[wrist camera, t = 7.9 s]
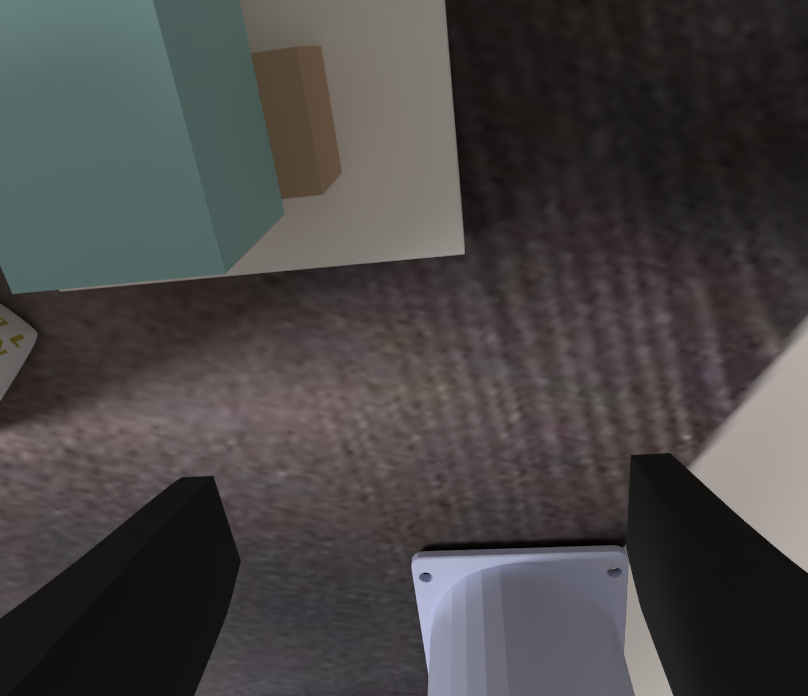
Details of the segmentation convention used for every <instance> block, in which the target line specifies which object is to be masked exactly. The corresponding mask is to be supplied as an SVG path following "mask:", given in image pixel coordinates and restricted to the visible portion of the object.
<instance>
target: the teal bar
mask: <svg viewBox="0 0 808 696" xmlns="http://www.w3.org/2000/svg"><path fill="white" fill-rule="evenodd" d="M284 215H285V212H284V208H283V203H282V198H281V193H280V189H279V184H278V179H277V175H276V170H275V165H274V160H273V156H272V151H271V146H270V142H269V137H268V132H267V127H266V123H265V118H264V113H263V108H262V104H261V99H260V94H259V90H258V85H257V80H256V75H255V71H254V66H253V61H252V57H251V52H250V47H249V42H248V38H247V33H246V28H245V23H244V19H243V14H242V9H241V5H240V0H0V266H1V269H2V271H3V273H4V276H5V278H6V280H7V283H8V285H9V287H10V289H11V292H12V294H18V293H29V292H39V291H50V290H61V289H71V288H82V287H92V286H103V285H113V284H124V283H134V282H145V281H155V280H166V279H176V278H187V277H197V276H208V275H218V274H226V273H227V272H228V271H229V270H230V269H231V268H232V267H233V266H234V265H235V264H236V263H237V262H238V261H239V260H240V259H241V258H242V257H243V256H244V255H245V254H246V253H247V252H248V251H249V250H250V249H251V248H252V247H253V246H254V245H255V244H256V243H257V242H258V241H259V240H260V239H261V238H262V237H263V236H264V235H265V234H266V233H267V232H268V231H269V230H270V229H271V228H272V227H273V226H274V225H275V224H276V223H277V222H278V221H279V220H280V219H281V218H282V217H283V216H284Z"/></svg>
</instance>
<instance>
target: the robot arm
mask: <svg viewBox="0 0 808 696" xmlns="http://www.w3.org/2000/svg"><path fill="white" fill-rule="evenodd" d="M626 550H627V554H628V557H627V554H626V551H625V550H624V549H623V548H622V547H620V546H614V545H608V546H576V547H545V548H514V549H482V550H451V551H423V552H418V553H417V554H415V555H414V556H413V558H412V573H413V580H414V586H415V592H416V599H417V605H418V611H419V618H420V624H421V630H422V636H423V643H424V649H425V655H426V662H427V668H428V674H429V679H428V696H635V695H634V691H633V687H632V683H631V680H630V676H629V673H628V669H627V665H626V661H625V657H624V638H625V620H626V619H625V618H626V601H627V600H626V599H627V582H628V563H629V562H630V566H631V570H632V575H633V579H634V583H635V587H636V590H637V595H638V599H639V602H640V606H641V610H642V612H643V615H644V618H645V621H646V623H647V626H648V629H649V631H650V634H651V637H652V640H653V642H654V645H655V648H656V650H657V653H658V656H659V658H660V661H661V663H662V666H663V669H664V672H665V674H666V677H667V680H668V682H669V685H670V687H671V690H672V693H673V695H674V696H808V573H807V572H806V571H804V570H803V569H802V568H800V567H799V566H798V565H796V564H795V563H794V562H793V561H791V560H790V559H789V558H788V557H786V556H785V555H784V554H783V553H781V552H780V551H779V550H778V549H777V548H776V547H774V546H773V545H772V544H771V543H769V541H767V540H766V539H765V538H764V537H763V536H761V535H760V534H759V533H758V532H757V531H756V530H754V529H753V528H752V527H751V526H750V525H749V524H747V523H746V522H745V521H744V520H743V519H742V518H741V517H739V516H738V515H737V514H736V513H735V512H734V511H733V510H731V509H730V508H729V507H728V506H727V505H726V504H725V503H724V502H723V501H722V500H721V499H719V498H718V497H717V496H716V495H715V494H714V493H713V492H712V491H710V489H708V488H707V487H706V486H705V485H704V484H703V483H702V482H701V481H700V480H699V479H698V478H697V477H696V476H694V475H693V474H692V473H691V472H690V471H689V470H688V469H687V468H686V467H685V466H684V465H683V464H681V463H680V462H679V461H678V460H677V459H676V458H675V457H674V456H672V455H671V454H670V453H664V454H644V455H631V465H630V485H629V505H628V525H627V546H626ZM628 558H629V561H628ZM240 562H241V560H240V557H239V554H238V551H237V548H236V545H235V542H234V539H233V536H232V533H231V530H230V526H229V523H228V520H227V517H226V514H225V511H224V508H223V505H222V502H221V499H220V496H219V492H218V489H217V486H216V483H215V480H214V477H213V476H202V477H182V478H180V479H178V480H177V481H176V482H174V483H173V484H171V485H170V486H169V487H167V488H166V489H165V490H164V491H162V492H161V493H160V494H159V495H157V496H156V497H155V498H154V499H152V500H151V501H150V502H149V503H147V504H146V505H145V506H144V507H142V508H141V509H140V510H139V511H138V512H136V513H135V514H134V515H133V516H132V517H130V518H129V519H128V520H127V521H125V522H124V523H123V524H122V525H121V526H119V527H118V528H117V529H116V530H114V531H113V532H112V533H111V534H110V535H108V536H107V537H106V538H105V539H103V540H102V541H101V542H100V543H99V544H97V545H96V546H95V547H94V548H92V549H91V550H90V551H89V552H87V553H86V554H85V555H84V556H83V557H81V558H80V559H79V560H78V561H76V562H75V563H74V564H72V565H71V566H70V567H68V568H67V569H66V570H64V571H63V572H62V573H60V574H59V575H58V576H57V577H55V578H54V579H53V580H51V581H50V582H49V583H47V584H46V585H45V586H43V587H42V588H41V589H39V590H38V591H37V592H36V593H34V594H33V595H32V596H30V597H29V598H28V599H26V600H25V601H24V602H22V603H21V604H20V605H18V606H17V607H16V608H14V609H13V610H11V611H10V612H9V613H7V614H6V615H4V616H3V617H2V618H0V696H194V694H195V692H196V690H197V687H198V685H199V682H200V680H201V677H202V675H203V673H204V670H205V668H206V665H207V663H208V660H209V658H210V655H211V653H212V650H213V648H214V646H215V643H216V641H217V638H218V636H219V633H220V631H221V628H222V625H223V623H224V620H225V618H226V615H227V611H228V608H229V604H230V601H231V597H232V594H233V590H234V586H235V582H236V578H237V574H238V570H239V566H240ZM613 567H616V569H612V570H611V569H610V568H613ZM423 573H429V574H428V575H426V574H423Z"/></svg>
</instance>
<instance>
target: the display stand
mask: <svg viewBox="0 0 808 696" xmlns="http://www.w3.org/2000/svg"><path fill="white" fill-rule="evenodd" d="M240 5H241V9H242V14H243V19H244V23H245V28H246V33H247V38H248V42H249V47H250V52H251V57H252V61H253V66H254V71H255V75H256V80H257V85H258V90H259V94H260V99H261V104H262V108H263V113H264V118H265V123H266V127H267V132H268V137H269V142H270V146H271V151H272V156H273V160H274V165H275V170H276V175H277V179H278V184H279V189H280V193H281V198H282V203H283V208H284V212H285V215H284V216H283V217H282V218H281V219H280V220H279V221H278V222H277V223H276V224H275V225H274V226H273V227H272V228H271V229H270V230H269V231H268V232H267V233H266V234H265V235H264V236H263V237H262V238H261V239H260V240H259V241H258V242H257V243H256V244H255V245H254V246H253V247H252V248H251V249H250V250H249V251H248V252H247V253H246V254H245V255H244V256H243V257H242V258H241V259H240V260H239V261H238V262H237V263H236V264H235V265H234V266H233V267H232V268H231V269H230V270H229V271H228V272H227V273H226V274H218V275H208V276H197V277H187V278H176V279H166V280H155V281H145V282H134V283H124V284H113V285H103V286H92V287H82V288H71V289H61V290H59V291H60V292H62V291H73V290H84V289H95V288H106V287H116V286H127V285H138V284H149V283H159V282H170V281H181V280H192V279H203V278H213V277H224V276H235V275H246V274H257V273H267V272H278V271H289V270H300V269H311V268H321V267H332V266H343V265H354V264H364V263H375V262H386V261H397V260H408V259H418V258H429V257H440V256H451V255H462V254H465V244H464V228H463V216H462V203H461V191H460V179H459V166H458V154H457V142H456V130H455V117H454V105H453V93H452V80H451V68H450V56H449V44H448V31H447V19H446V7H445V0H240Z"/></svg>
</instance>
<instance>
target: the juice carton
mask: <svg viewBox="0 0 808 696" xmlns="http://www.w3.org/2000/svg"><path fill="white" fill-rule="evenodd" d="M37 334H38V333H37V331H36V330H35V329H34V328H33V327H31V326H30V325H29V324H28V323H27V322H25V321H24V320H23V319H21V318H20V317H19V316H17V315H16V314H15V313H13V312H12V311H11V310H9V309H8V308H6V307H5V306H3V305H2V304H1V303H0V401H1V399H2V398H3V396H4V394H5V393H6V391H7V390H8V388H9V387H10V385H11V383H12V382H13V380H14V379H15V377H16V375H17V374H18V372H19V370H20V369H21V367H22V366H23V364H24V362H25V360H26V359H27V357H28V355H29V354H30V352H31V350H32V348H33V346H34V344H35V342H36V339H37Z"/></svg>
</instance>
